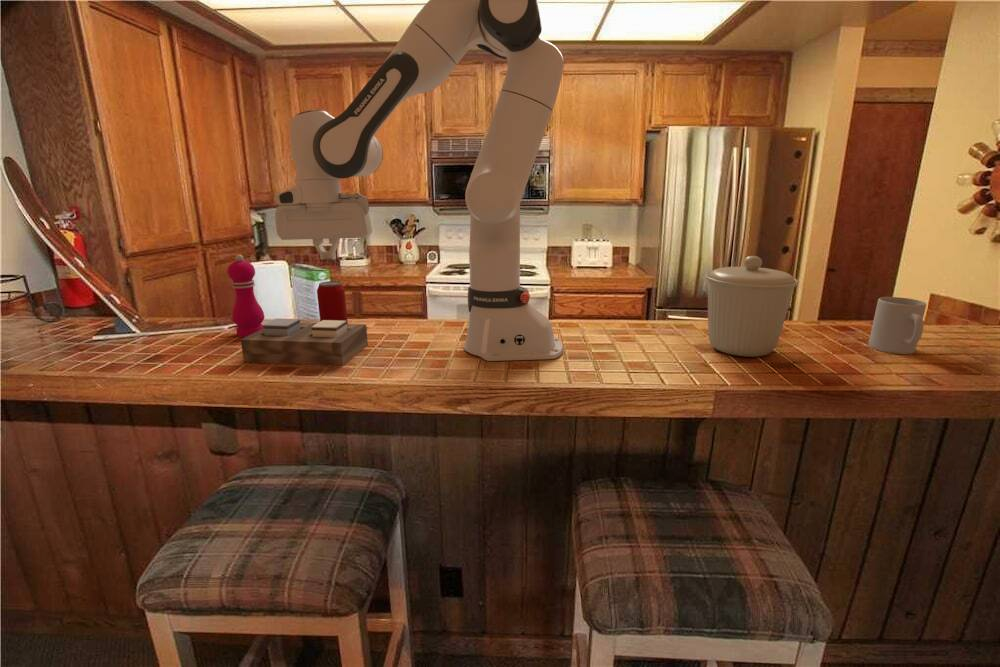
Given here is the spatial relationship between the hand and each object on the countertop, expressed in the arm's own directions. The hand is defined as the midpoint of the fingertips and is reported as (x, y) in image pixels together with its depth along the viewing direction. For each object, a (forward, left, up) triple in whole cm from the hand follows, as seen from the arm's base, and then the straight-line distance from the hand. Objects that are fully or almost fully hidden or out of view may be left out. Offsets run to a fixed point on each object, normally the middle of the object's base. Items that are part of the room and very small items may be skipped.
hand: (328, 259), depth 110 cm
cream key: (-1, +5, -18) cm, 19 cm away
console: (+5, +5, -20) cm, 21 cm away
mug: (-125, -10, -21) cm, 127 cm away
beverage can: (+8, -15, -21) cm, 27 cm away
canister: (-91, -7, -21) cm, 94 cm away
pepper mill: (+27, -8, -21) cm, 35 cm away
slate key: (+10, +5, -18) cm, 21 cm away
